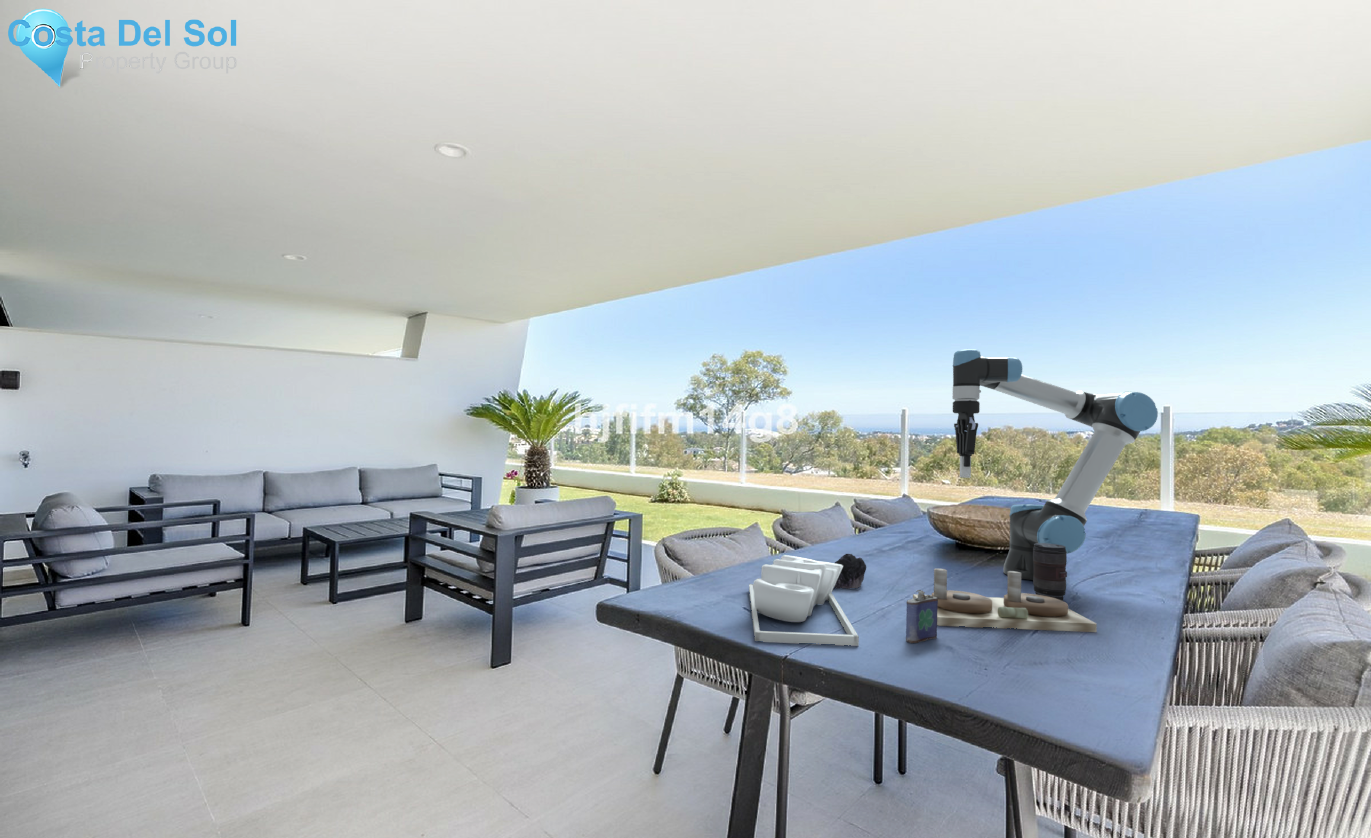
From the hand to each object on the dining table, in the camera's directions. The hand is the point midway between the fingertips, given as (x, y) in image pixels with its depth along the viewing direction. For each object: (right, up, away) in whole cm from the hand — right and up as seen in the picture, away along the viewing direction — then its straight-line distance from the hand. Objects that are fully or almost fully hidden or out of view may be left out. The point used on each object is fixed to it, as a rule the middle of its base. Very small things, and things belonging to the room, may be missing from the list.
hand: (965, 477), depth 186 cm
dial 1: (-16, -30, -32) cm, 47 cm away
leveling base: (-7, -32, -33) cm, 46 cm away
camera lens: (+16, -33, -16) cm, 40 cm away
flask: (-33, -31, -51) cm, 69 cm away
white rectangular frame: (-58, -31, -35) cm, 75 cm away
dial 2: (+2, -30, -34) cm, 45 cm away
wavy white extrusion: (-57, -30, -31) cm, 72 cm away
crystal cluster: (-39, -32, -4) cm, 51 cm away
